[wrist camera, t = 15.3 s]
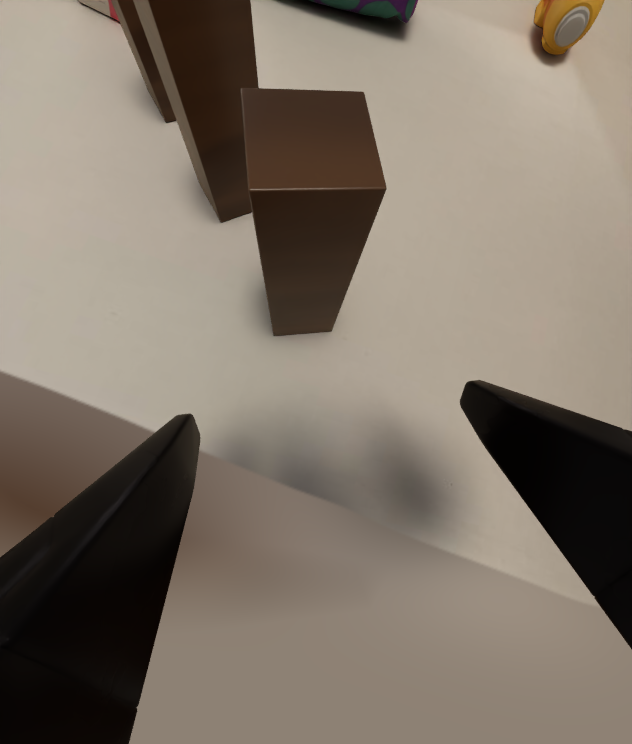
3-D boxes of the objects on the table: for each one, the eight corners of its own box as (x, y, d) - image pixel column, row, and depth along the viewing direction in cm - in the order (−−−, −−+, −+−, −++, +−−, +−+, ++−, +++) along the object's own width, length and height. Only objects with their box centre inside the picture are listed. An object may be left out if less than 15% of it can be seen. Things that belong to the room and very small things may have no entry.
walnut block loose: (331, 331, 20) (387, 188, 8) (273, 336, 19) (248, 190, 8) (324, 280, 21) (364, 90, 9) (268, 283, 21) (239, 86, 9)
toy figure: (567, 74, 31) (573, 17, 34) (624, 0, 26) (625, -60, 29) (525, 59, 31) (535, 3, 34) (573, -18, 26) (580, -77, 29)
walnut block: (269, 205, 22) (246, -43, 11) (221, 223, 21) (139, -27, 10) (247, 168, 23) (203, -101, 12) (199, 183, 22) (99, -92, 11)
